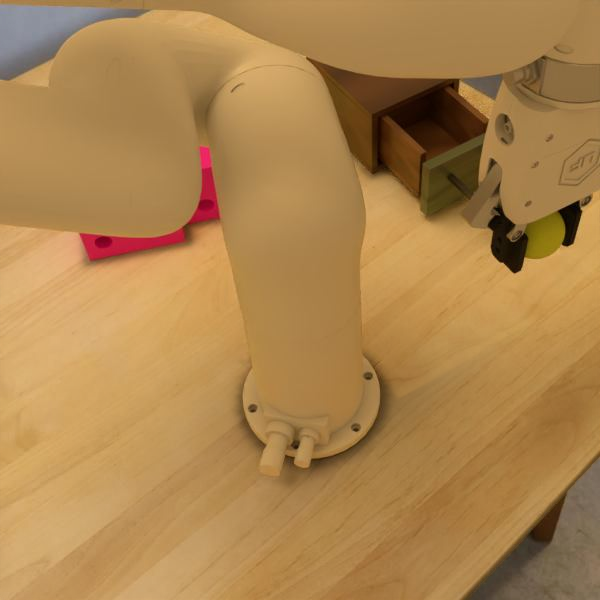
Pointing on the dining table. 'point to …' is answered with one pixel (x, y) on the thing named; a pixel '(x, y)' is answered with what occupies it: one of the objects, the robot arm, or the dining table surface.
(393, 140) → the drawer
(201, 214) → the toy block
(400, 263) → the dining table surface
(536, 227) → the yellow ball
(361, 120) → the cabinet
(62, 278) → the dining table surface
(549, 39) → the robot arm
